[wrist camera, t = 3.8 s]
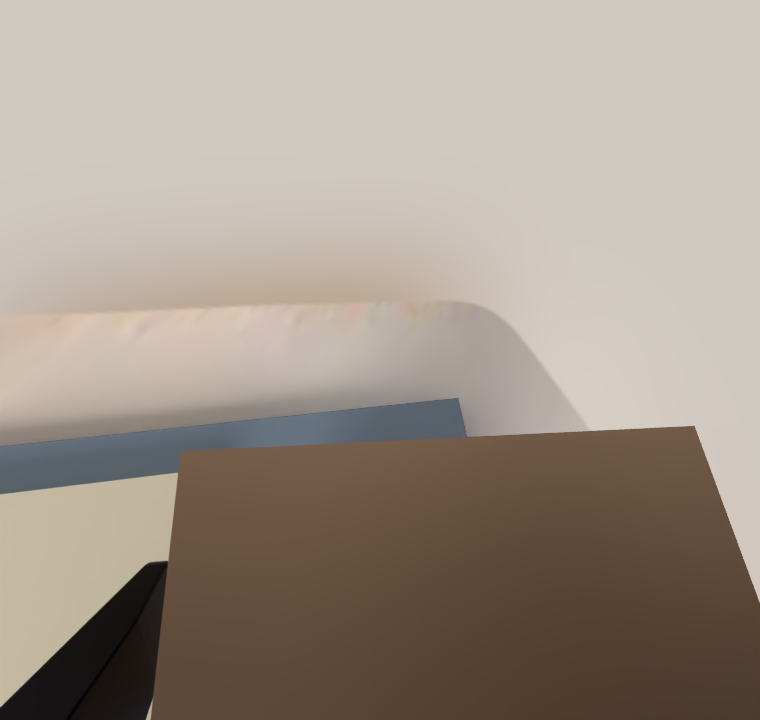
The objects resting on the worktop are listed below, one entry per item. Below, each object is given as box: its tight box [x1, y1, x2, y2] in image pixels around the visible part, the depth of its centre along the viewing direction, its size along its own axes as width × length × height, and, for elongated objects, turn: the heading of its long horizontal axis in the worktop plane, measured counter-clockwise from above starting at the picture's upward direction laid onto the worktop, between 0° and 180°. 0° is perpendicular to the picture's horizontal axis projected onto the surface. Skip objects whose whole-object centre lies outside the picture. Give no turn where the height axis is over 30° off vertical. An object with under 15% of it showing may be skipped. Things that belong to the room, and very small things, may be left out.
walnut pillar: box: [151, 426, 760, 720], centre depth 9 cm, size 5×5×13 cm
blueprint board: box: [0, 398, 467, 720], centre depth 14 cm, size 20×13×2 cm, turn 98°
